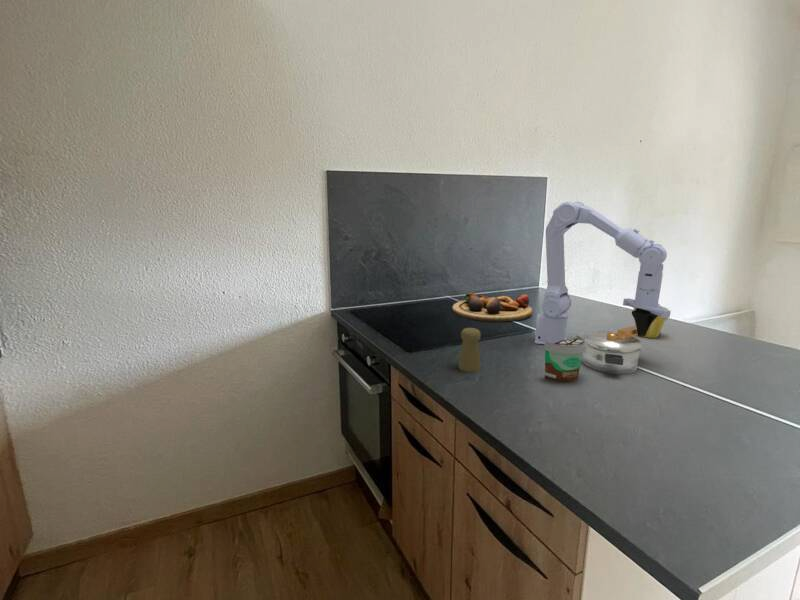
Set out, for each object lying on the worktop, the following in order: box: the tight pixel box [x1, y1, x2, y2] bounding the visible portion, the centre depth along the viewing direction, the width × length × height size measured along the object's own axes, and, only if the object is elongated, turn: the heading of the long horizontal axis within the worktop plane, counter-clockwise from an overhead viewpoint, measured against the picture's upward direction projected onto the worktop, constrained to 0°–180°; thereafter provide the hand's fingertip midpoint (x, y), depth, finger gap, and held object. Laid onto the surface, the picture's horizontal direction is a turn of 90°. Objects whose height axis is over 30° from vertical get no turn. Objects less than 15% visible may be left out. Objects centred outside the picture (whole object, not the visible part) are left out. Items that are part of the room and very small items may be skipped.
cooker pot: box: [581, 344, 641, 375], centre depth 120 cm, size 22×14×6 cm, turn 160°
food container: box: [543, 335, 586, 383], centre depth 109 cm, size 12×6×10 cm, turn 117°
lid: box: [582, 325, 643, 353], centre depth 120 cm, size 20×15×3 cm
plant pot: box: [632, 305, 670, 339], centre depth 145 cm, size 10×10×10 cm
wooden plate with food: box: [451, 291, 534, 323], centre depth 174 cm, size 32×32×8 cm
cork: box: [457, 327, 482, 373], centre depth 115 cm, size 6×6×11 cm
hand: (641, 335), depth 121 cm, fingers closed
